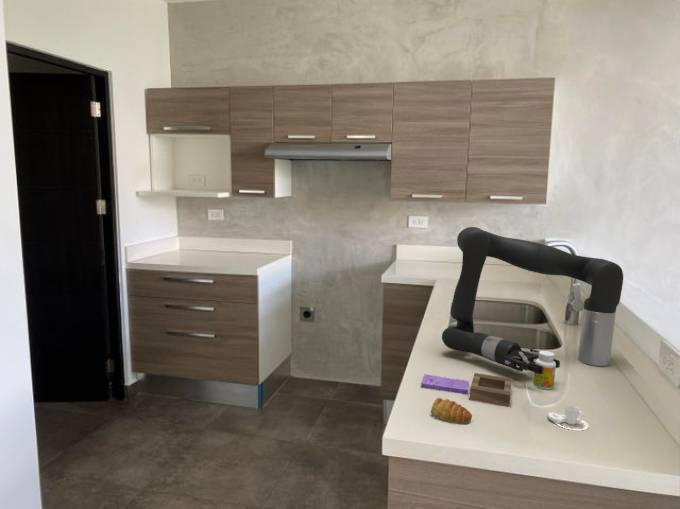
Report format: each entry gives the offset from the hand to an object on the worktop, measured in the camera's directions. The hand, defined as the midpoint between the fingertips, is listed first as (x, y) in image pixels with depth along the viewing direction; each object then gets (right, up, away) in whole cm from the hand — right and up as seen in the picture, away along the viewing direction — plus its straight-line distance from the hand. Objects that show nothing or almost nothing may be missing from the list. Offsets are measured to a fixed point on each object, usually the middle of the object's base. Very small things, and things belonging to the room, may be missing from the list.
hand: (551, 367), depth 142 cm
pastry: (-32, -8, -18) cm, 38 cm away
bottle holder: (-18, -6, -5) cm, 20 cm away
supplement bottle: (-1, -6, +2) cm, 6 cm away
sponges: (-29, -6, 0) cm, 30 cm away
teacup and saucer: (-4, -9, -17) cm, 19 cm away
